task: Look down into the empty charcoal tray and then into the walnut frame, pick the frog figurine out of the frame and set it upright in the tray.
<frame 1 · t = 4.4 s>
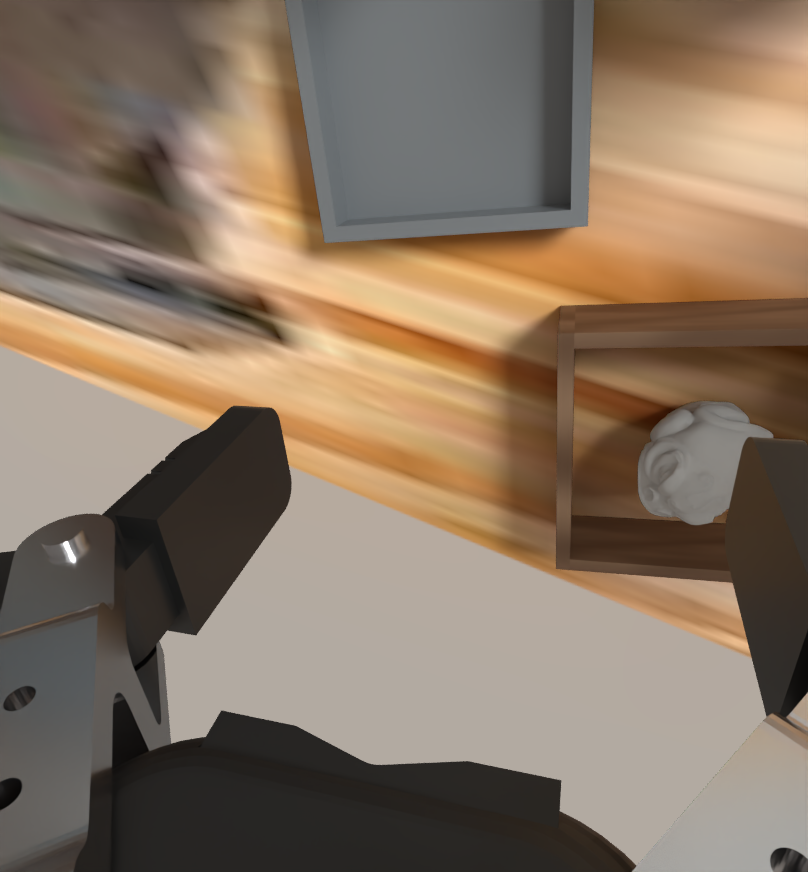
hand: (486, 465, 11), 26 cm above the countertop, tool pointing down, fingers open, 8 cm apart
walnut frame: (692, 427, 36), on the countertop
charcoal tray: (448, 82, 31), on the countertop
frog figurine: (692, 425, 36), resting in walnut frame
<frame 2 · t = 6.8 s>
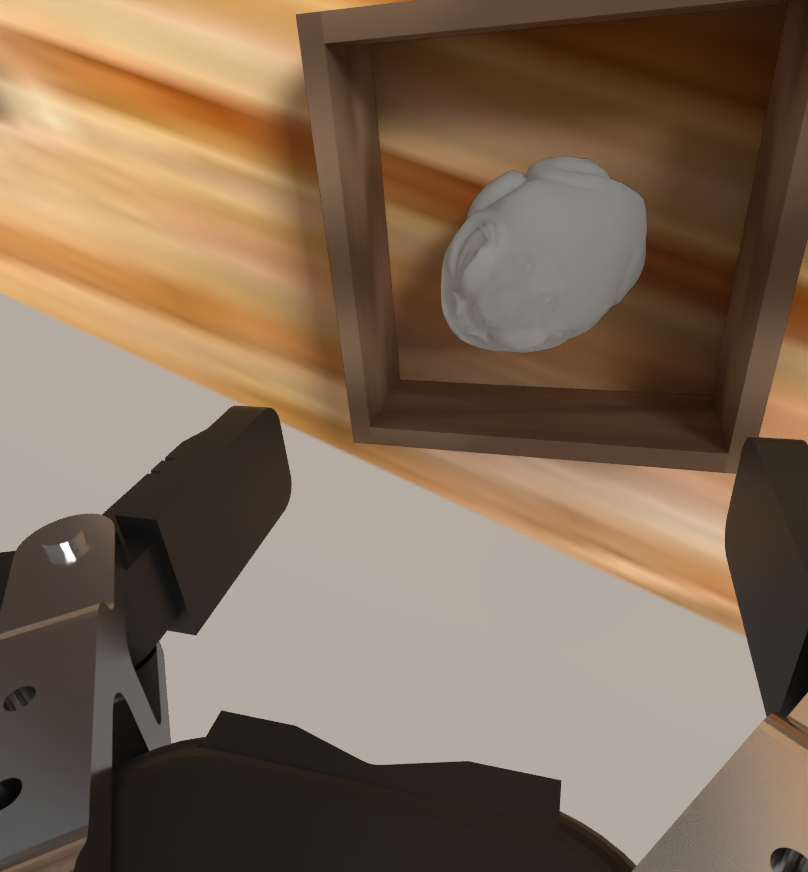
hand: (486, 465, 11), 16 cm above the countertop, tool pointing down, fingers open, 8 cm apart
walnut frame: (552, 231, 24), on the countertop
frog figurine: (552, 230, 24), resting in walnut frame
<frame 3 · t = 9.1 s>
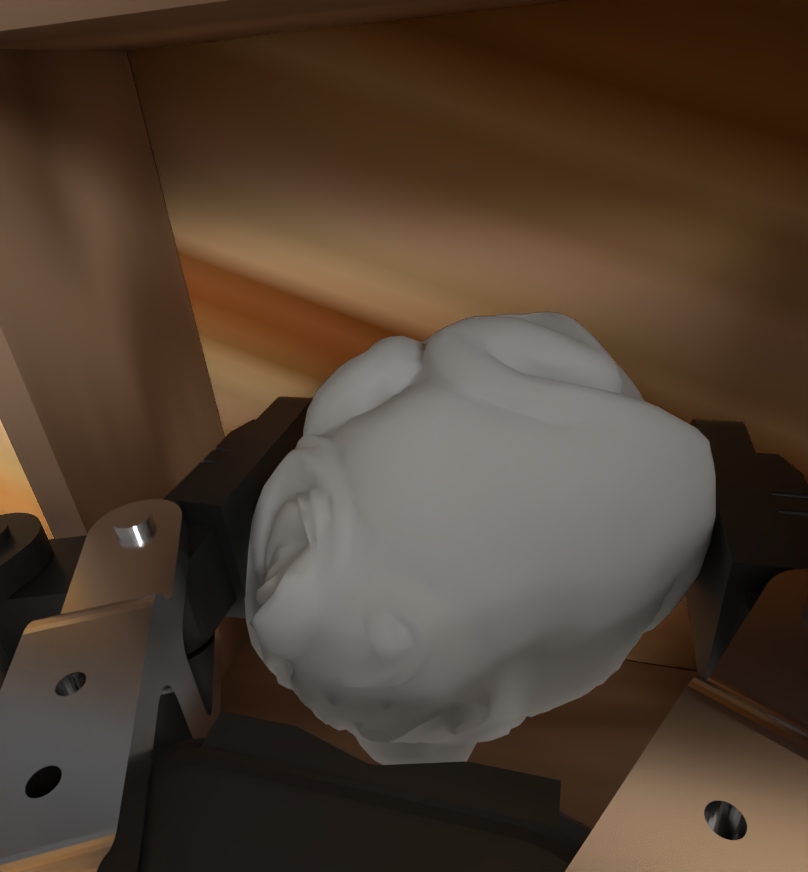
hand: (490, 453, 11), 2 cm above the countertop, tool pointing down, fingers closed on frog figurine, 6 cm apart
walnut frame: (505, 408, 13), on the countertop
frog figurine: (507, 403, 13), resting in walnut frame, touching gripper
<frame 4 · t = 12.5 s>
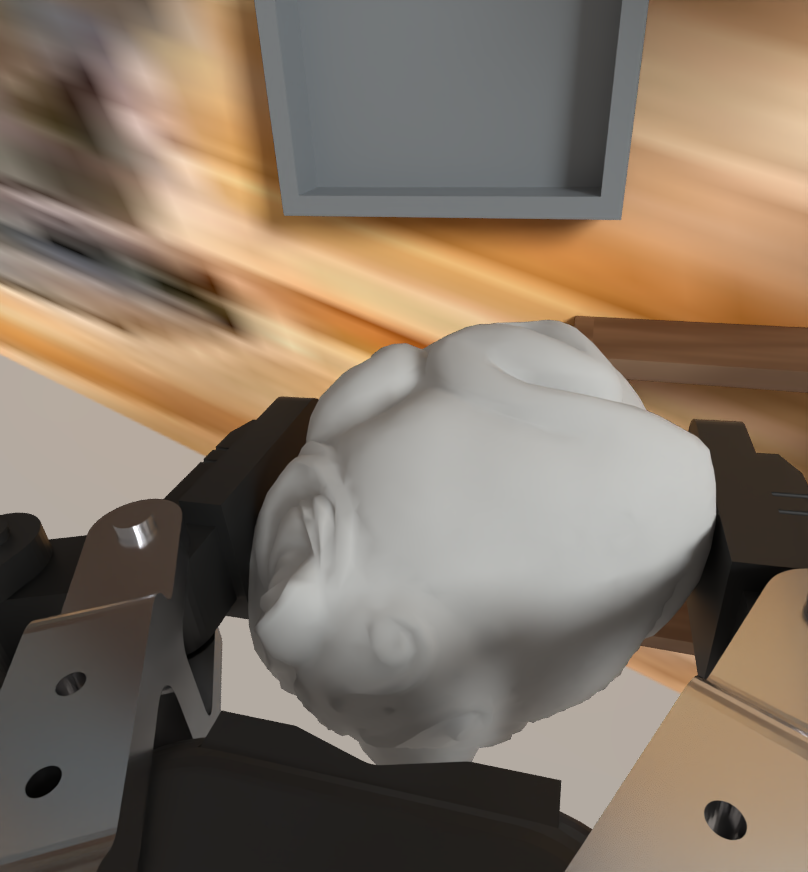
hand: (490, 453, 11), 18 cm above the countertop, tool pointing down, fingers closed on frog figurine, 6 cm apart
walnut frame: (723, 475, 30), on the countertop
charcoal tray: (453, 14, 23), on the countertop
frog figurine: (508, 408, 13), point 16 cm above the countertop, touching gripper
when the fingers open (3 cm above the countertop, at t = 16.4 s): frog figurine drops 1 cm, resting on charcoal tray.
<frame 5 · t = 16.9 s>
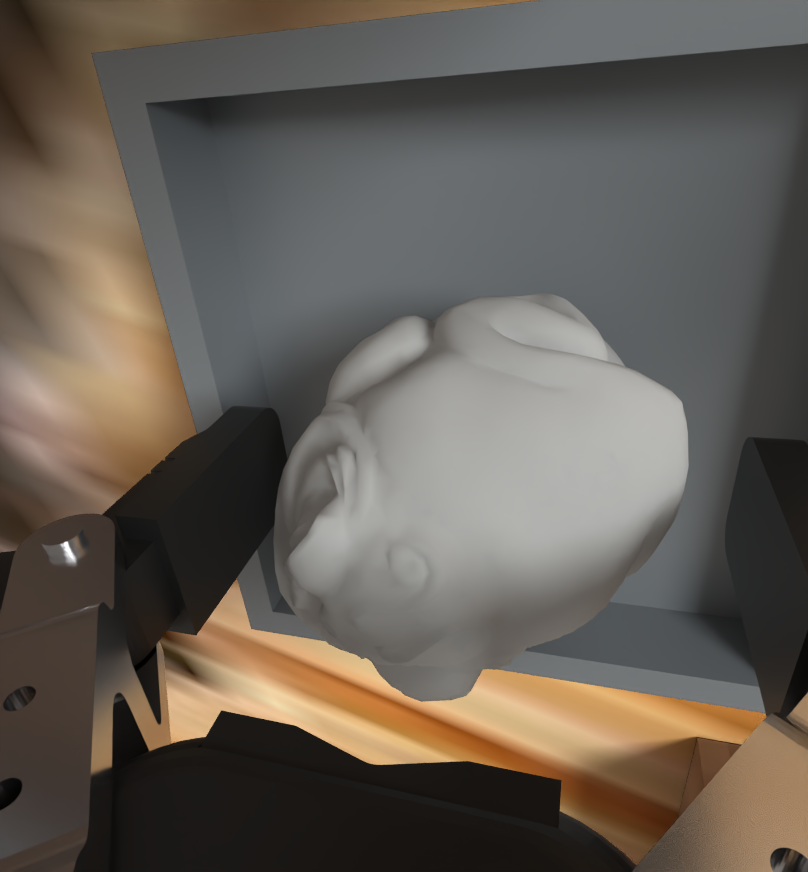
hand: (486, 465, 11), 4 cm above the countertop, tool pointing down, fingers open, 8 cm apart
charcoal tray: (512, 374, 14), on the countertop
frog figurine: (506, 382, 14), resting on charcoal tray
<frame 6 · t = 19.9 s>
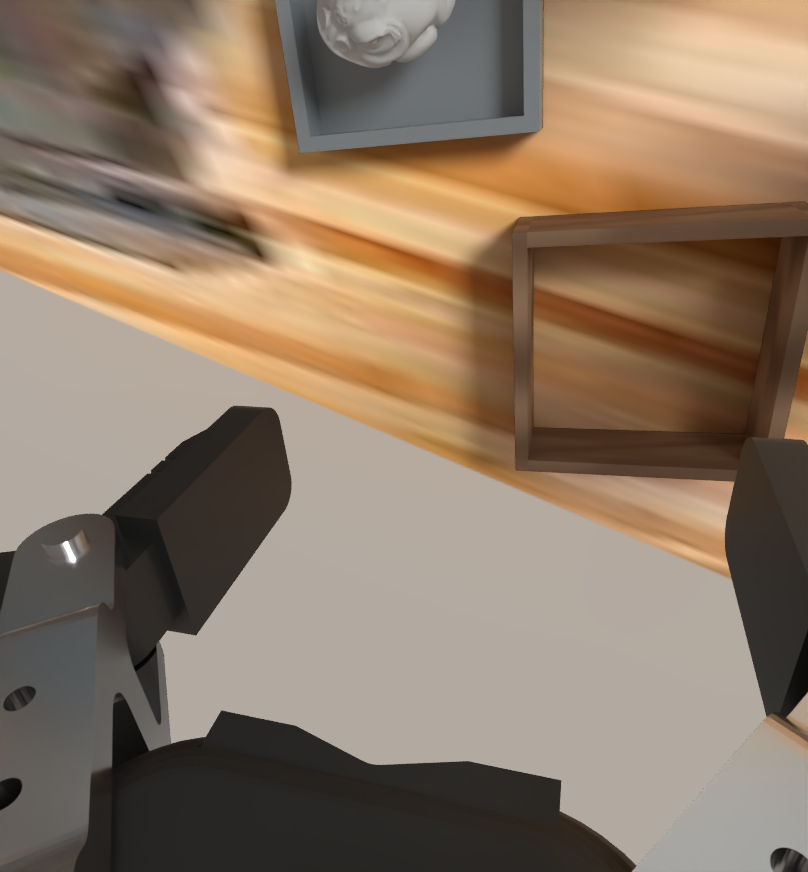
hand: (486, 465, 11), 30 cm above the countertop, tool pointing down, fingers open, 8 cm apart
walnut frame: (643, 336, 39), on the countertop
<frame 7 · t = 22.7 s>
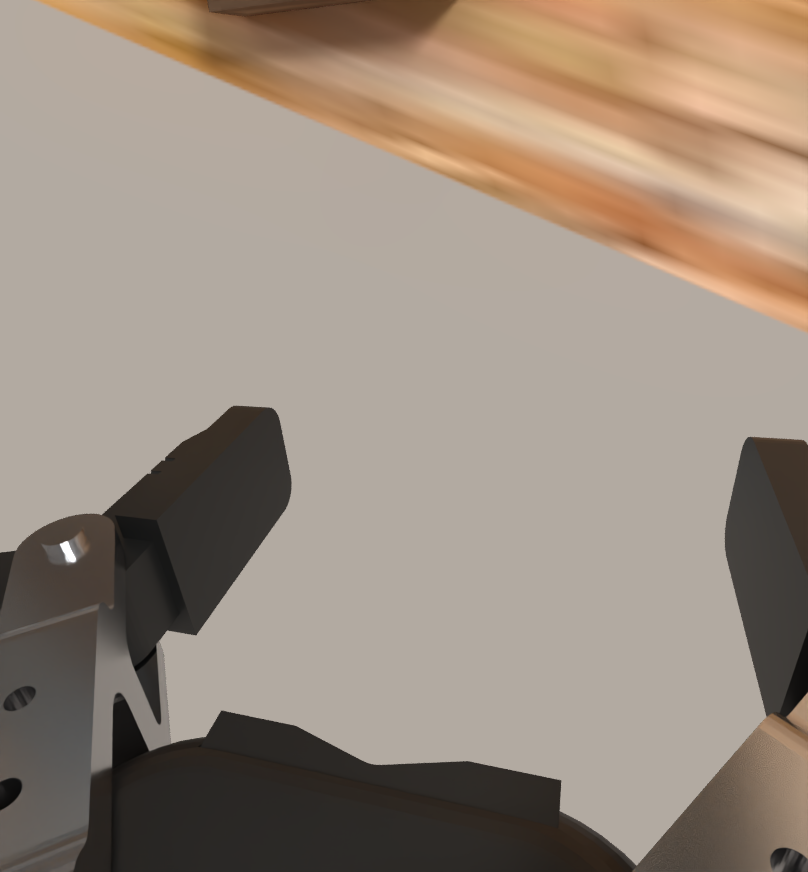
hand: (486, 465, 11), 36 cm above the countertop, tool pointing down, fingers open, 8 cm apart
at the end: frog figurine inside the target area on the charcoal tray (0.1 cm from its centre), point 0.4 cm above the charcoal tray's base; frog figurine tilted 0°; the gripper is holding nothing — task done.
